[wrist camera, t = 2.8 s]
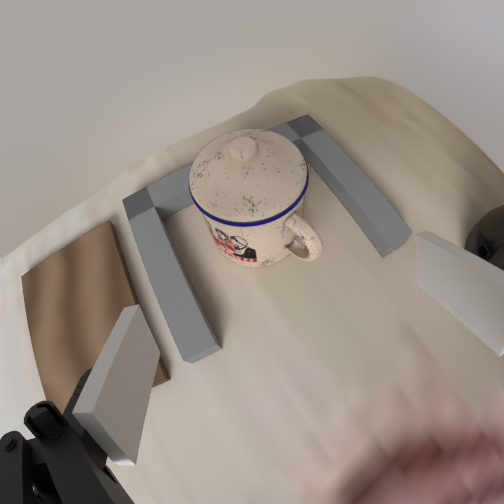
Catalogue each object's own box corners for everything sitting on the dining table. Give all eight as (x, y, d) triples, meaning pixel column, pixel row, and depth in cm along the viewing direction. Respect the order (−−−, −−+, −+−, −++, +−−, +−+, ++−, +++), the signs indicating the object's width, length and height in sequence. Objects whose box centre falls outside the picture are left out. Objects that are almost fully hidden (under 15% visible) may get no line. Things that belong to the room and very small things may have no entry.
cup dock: (307, 129, 36) (308, 114, 33) (404, 243, 28) (412, 231, 26) (131, 212, 33) (122, 200, 31) (192, 363, 26) (183, 360, 23)
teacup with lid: (193, 229, 31) (153, 152, 21) (257, 176, 33) (246, 90, 23) (278, 313, 27) (274, 261, 16) (345, 245, 29) (373, 166, 18)
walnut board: (113, 225, 33) (109, 220, 31) (170, 379, 25) (165, 379, 24) (27, 279, 31) (21, 276, 30) (61, 423, 24) (54, 424, 22)
